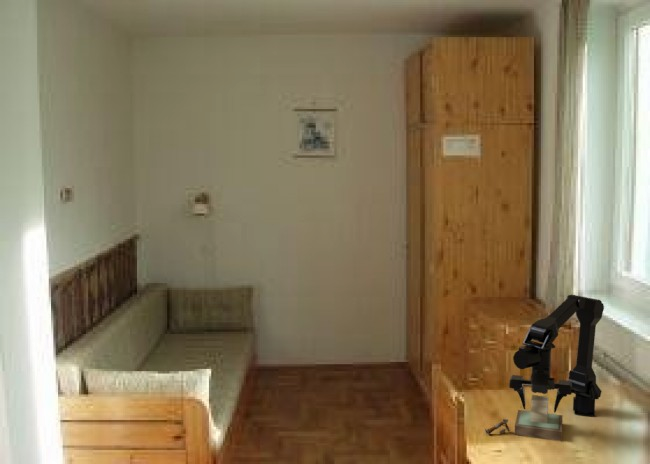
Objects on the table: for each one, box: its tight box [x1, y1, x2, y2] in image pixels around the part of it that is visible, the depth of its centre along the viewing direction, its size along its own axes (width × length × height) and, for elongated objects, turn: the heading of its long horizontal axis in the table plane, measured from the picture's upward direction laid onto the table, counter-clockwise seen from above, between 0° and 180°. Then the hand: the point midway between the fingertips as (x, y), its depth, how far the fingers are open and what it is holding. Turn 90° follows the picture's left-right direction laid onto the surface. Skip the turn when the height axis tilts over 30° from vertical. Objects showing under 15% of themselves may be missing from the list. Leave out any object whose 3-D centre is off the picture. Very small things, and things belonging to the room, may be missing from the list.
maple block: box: [530, 394, 549, 423], centre depth 219 cm, size 5×5×7 cm
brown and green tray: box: [513, 409, 563, 442], centre depth 219 cm, size 14×14×3 cm
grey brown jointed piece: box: [484, 418, 511, 436], centre depth 217 cm, size 2×8×4 cm, turn 105°
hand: (539, 410), depth 219 cm, fingers open, 9 cm apart
